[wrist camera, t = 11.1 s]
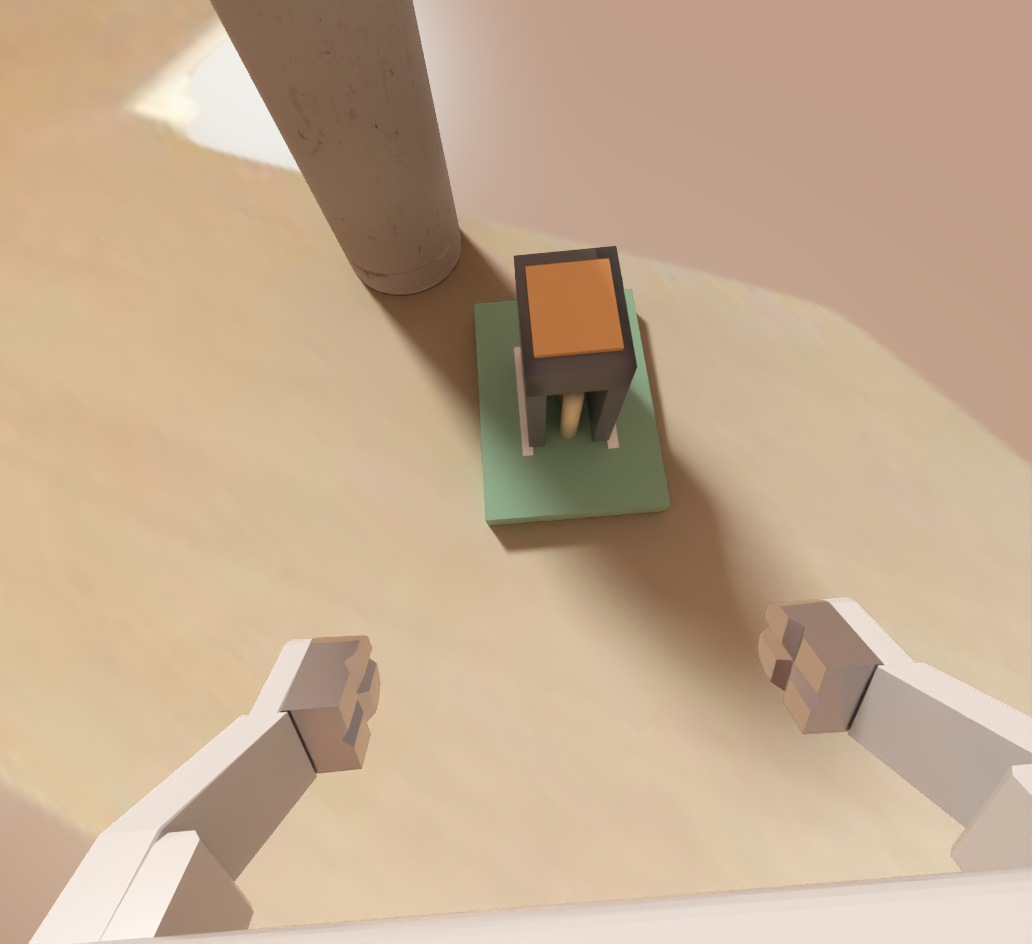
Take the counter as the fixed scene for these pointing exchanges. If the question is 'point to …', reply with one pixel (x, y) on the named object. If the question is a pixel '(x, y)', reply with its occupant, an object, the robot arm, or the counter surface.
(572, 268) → the block
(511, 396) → the header board
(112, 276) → the counter surface
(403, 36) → the thermos bottle
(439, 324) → the counter surface
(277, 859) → the counter surface
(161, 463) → the counter surface
